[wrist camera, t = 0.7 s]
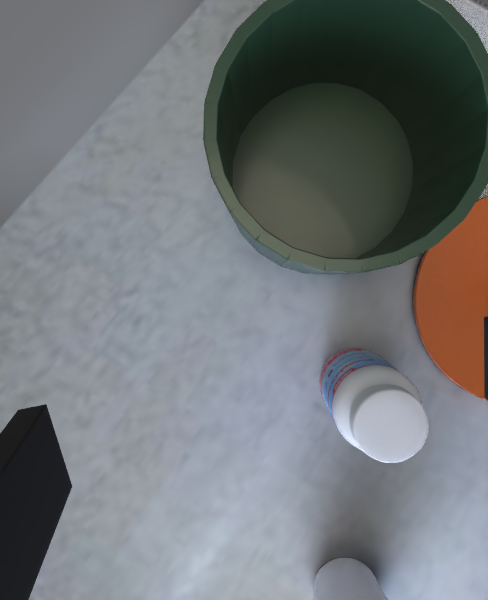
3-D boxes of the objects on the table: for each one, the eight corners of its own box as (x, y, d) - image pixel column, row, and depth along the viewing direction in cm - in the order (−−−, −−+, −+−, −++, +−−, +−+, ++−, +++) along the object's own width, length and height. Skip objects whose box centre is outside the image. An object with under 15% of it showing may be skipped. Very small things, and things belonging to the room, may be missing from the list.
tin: (447, 107, 36) (544, 17, 23) (384, 297, 37) (445, 308, 25) (256, 52, 36) (252, -65, 24) (200, 241, 37) (168, 223, 25)
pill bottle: (345, 332, 37) (380, 357, 26) (403, 374, 37) (463, 416, 26) (304, 388, 38) (321, 435, 27) (361, 429, 38) (401, 494, 26)
